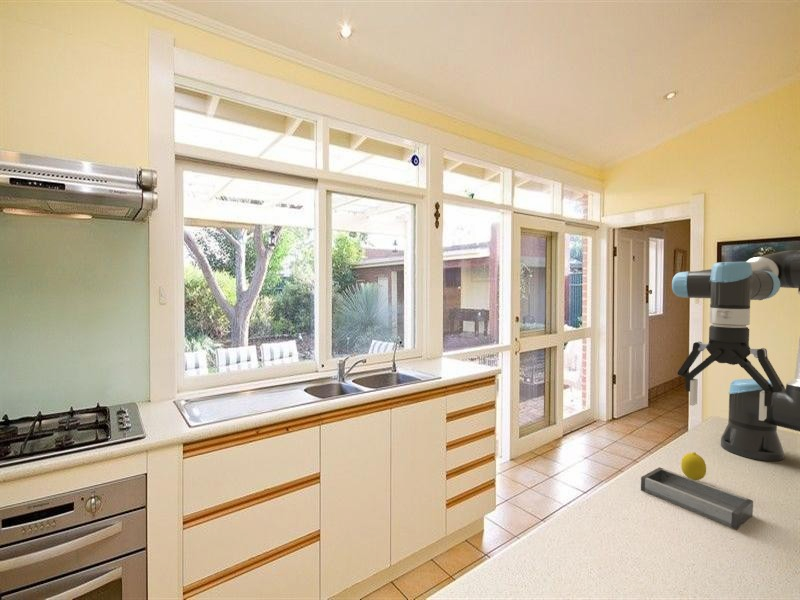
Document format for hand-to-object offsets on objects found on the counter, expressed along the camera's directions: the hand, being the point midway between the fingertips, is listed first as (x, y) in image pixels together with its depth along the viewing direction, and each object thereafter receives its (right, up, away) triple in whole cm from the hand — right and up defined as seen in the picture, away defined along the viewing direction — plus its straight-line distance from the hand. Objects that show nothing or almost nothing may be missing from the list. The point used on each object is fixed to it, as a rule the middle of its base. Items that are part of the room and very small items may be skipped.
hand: (725, 411), depth 97 cm
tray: (-7, -23, +1) cm, 24 cm away
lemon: (0, -22, +11) cm, 25 cm away
